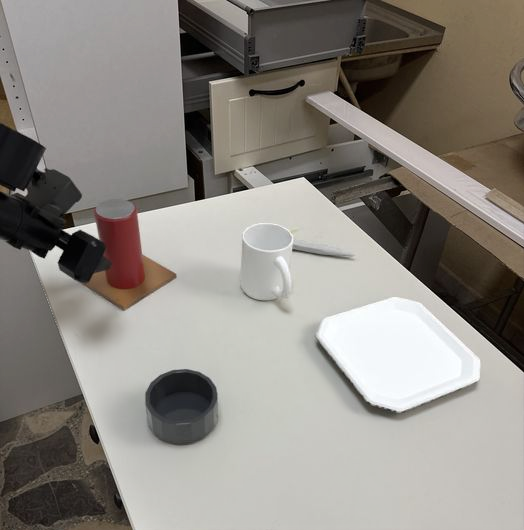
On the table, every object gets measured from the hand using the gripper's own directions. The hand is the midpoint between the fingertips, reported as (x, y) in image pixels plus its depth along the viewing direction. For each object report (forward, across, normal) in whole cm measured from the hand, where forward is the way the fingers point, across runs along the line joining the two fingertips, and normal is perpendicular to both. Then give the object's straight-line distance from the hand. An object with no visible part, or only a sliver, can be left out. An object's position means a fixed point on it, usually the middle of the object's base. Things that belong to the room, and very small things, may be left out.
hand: (90, 253), depth 81 cm
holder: (0, -28, +12) cm, 31 cm away
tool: (+31, -19, -19) cm, 41 cm away
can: (+9, 0, +1) cm, 9 cm away
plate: (+21, -45, -9) cm, 50 cm away
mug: (+20, -21, -8) cm, 30 cm away
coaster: (+10, 0, +2) cm, 10 cm away
